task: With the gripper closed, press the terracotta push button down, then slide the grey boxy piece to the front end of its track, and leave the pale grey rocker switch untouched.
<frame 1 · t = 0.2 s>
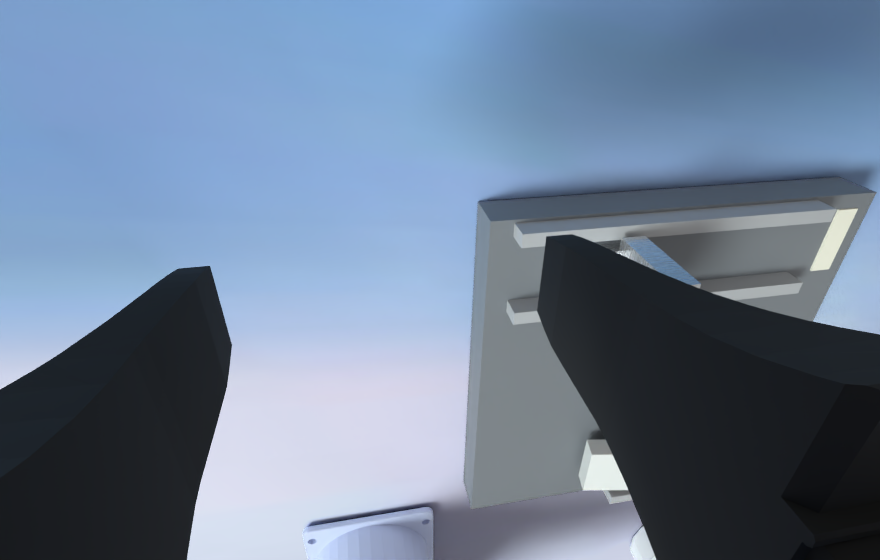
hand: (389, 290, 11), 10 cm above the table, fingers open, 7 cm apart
rocker: (639, 466, 28), point 4 cm above the table, hinge at -10.0°
grey boxy piece: (640, 292, 20), point 5 cm above the table, slide at 0.0 cm
white cup: (667, 530, 40), on the table
panel: (627, 347, 28), on the table
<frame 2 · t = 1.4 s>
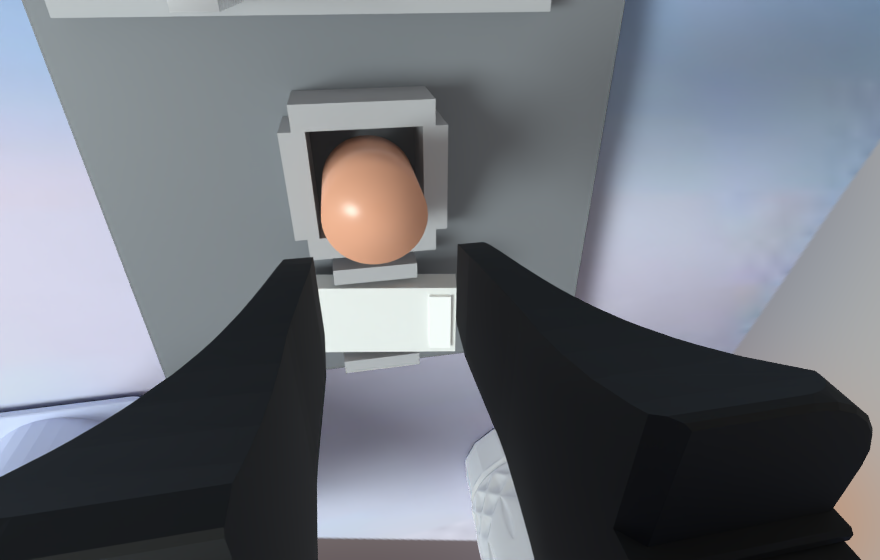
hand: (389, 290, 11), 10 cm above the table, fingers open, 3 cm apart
rocker: (378, 314, 20), point 4 cm above the table, hinge at -10.0°
push button: (371, 197, 15), point 5 cm above the table, slide at 0.0 cm
white cup: (515, 453, 32), on the table
panel: (362, 147, 20), on the table
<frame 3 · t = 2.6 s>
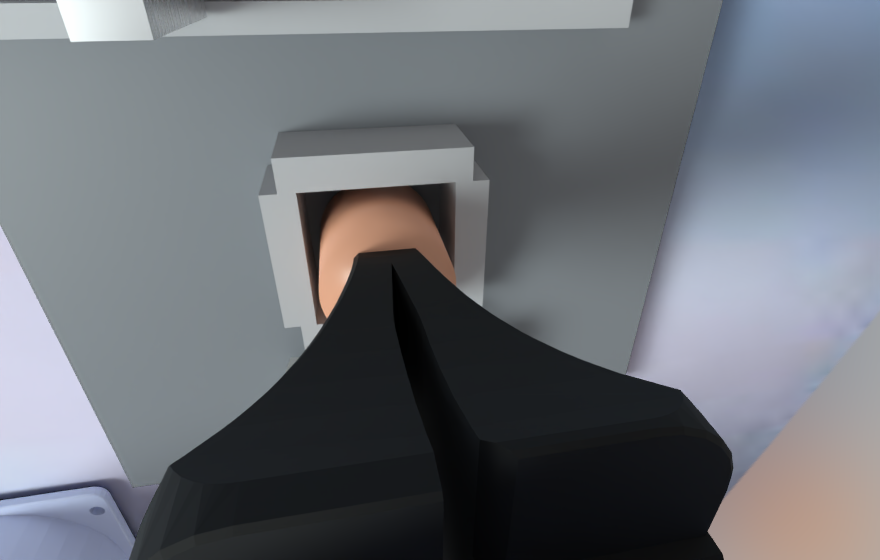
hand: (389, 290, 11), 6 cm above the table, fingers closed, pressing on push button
rocker: (391, 406, 16), point 4 cm above the table, hinge at -10.0°
push button: (382, 258, 12), point 4 cm above the table, slide at 1.1 cm, touching gripper
panel: (370, 195, 16), on the table
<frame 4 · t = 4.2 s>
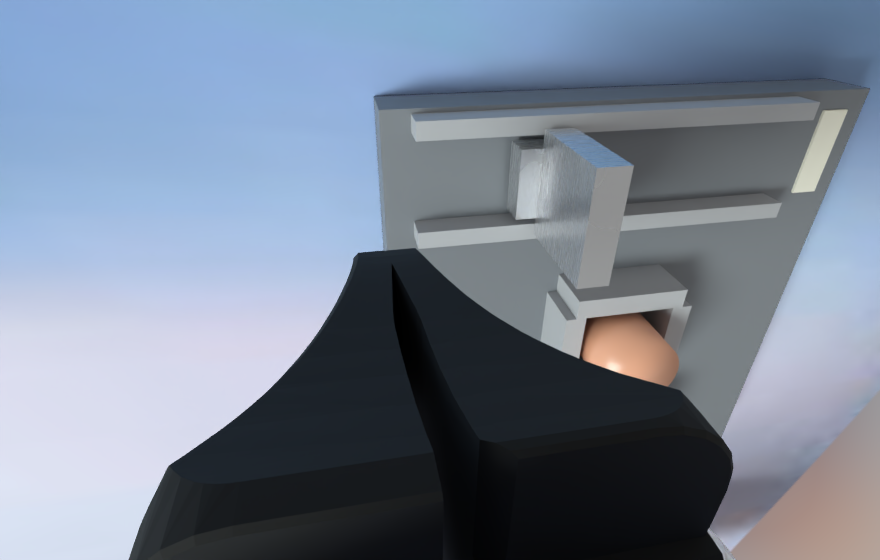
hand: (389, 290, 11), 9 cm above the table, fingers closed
grey boxy piece: (569, 198, 16), point 5 cm above the table, slide at 0.0 cm
push button: (622, 350, 20), point 4 cm above the table, slide at 1.1 cm
panel: (580, 295, 24), on the table
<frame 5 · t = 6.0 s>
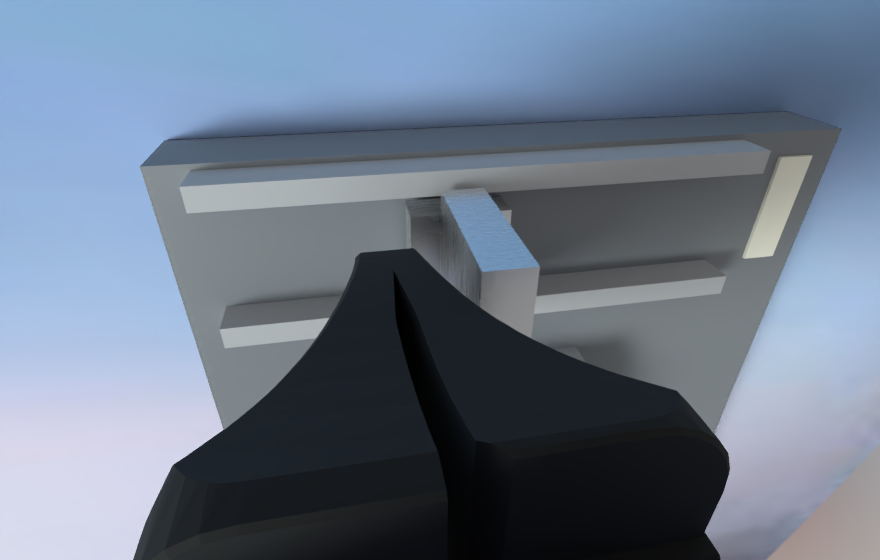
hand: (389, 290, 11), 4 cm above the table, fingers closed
grey boxy piece: (473, 287, 11), point 5 cm above the table, slide at 1.5 cm, touching gripper
panel: (488, 373, 19), on the table
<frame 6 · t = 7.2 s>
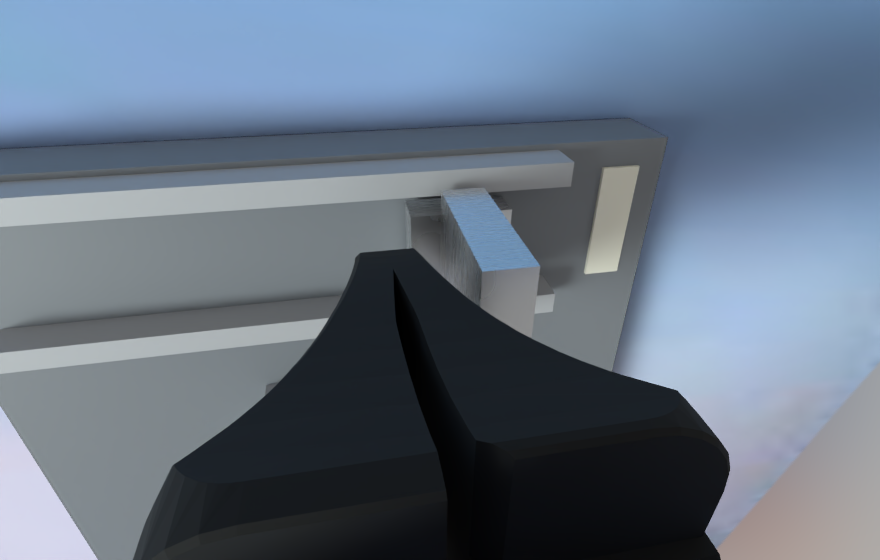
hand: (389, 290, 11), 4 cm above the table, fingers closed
grey boxy piece: (473, 286, 11), point 5 cm above the table, slide at 6.8 cm, touching gripper
panel: (348, 391, 18), on the table
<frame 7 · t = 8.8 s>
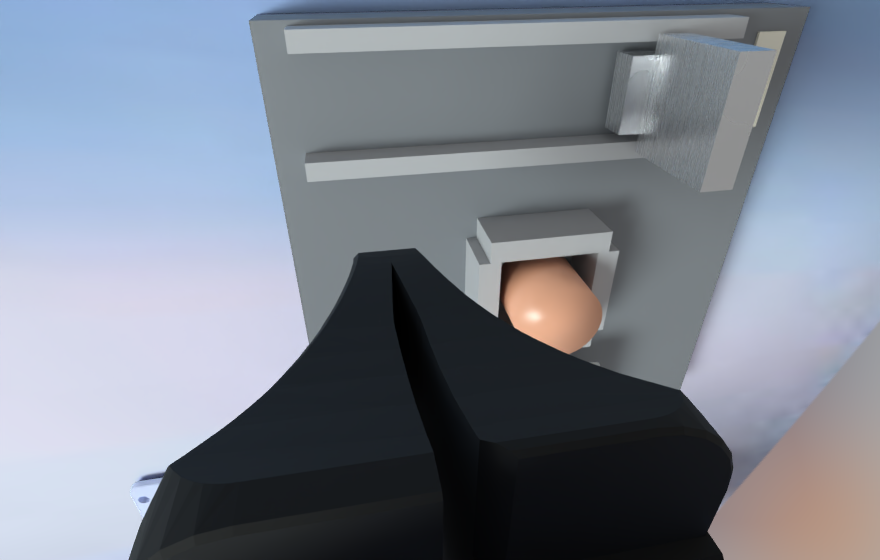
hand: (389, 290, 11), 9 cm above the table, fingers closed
rocker: (528, 397, 22), point 4 cm above the table, hinge at -10.0°
grey boxy piece: (684, 105, 15), point 5 cm above the table, slide at 6.9 cm
push button: (545, 300, 19), point 4 cm above the table, slide at 1.1 cm
panel: (512, 248, 22), on the table
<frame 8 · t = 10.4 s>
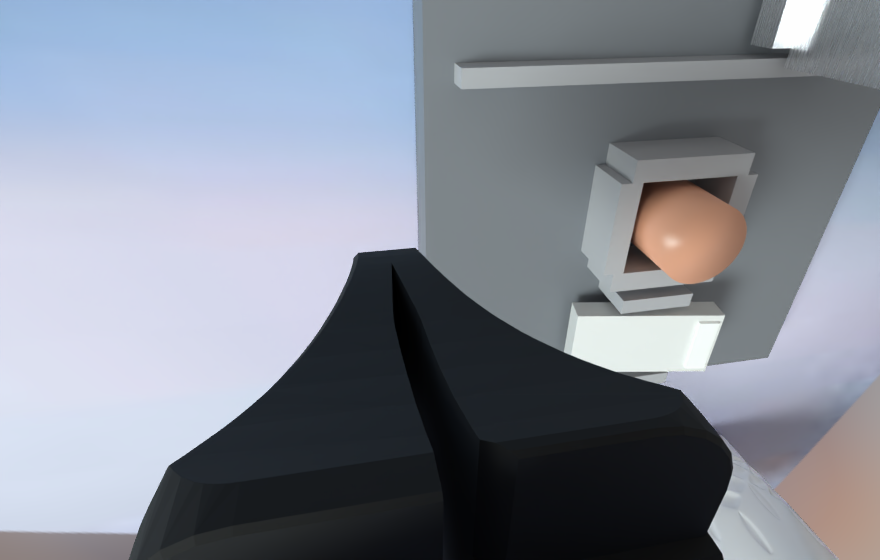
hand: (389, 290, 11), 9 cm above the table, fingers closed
rocker: (640, 338, 22), point 4 cm above the table, hinge at -10.0°
grey boxy piece: (854, 8, 15), point 5 cm above the table, slide at 6.9 cm
push button: (679, 227, 18), point 4 cm above the table, slide at 1.1 cm
white cup: (675, 460, 34), on the table
panel: (624, 186, 22), on the table
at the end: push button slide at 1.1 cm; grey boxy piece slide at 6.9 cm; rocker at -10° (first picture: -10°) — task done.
